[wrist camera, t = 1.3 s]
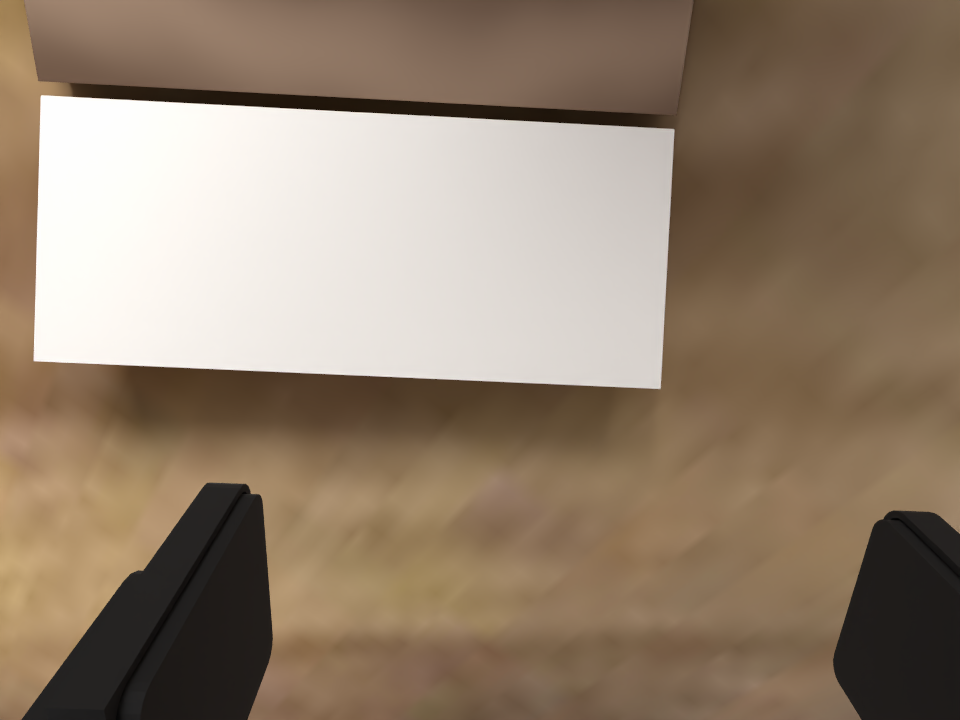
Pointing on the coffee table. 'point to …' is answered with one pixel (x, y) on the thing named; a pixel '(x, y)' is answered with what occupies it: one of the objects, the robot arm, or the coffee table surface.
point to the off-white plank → (351, 243)
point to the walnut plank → (377, 49)
